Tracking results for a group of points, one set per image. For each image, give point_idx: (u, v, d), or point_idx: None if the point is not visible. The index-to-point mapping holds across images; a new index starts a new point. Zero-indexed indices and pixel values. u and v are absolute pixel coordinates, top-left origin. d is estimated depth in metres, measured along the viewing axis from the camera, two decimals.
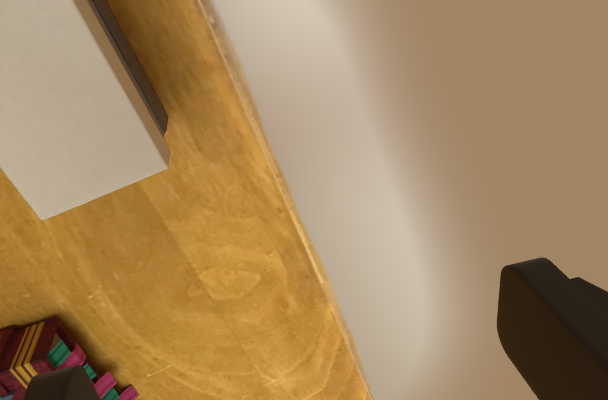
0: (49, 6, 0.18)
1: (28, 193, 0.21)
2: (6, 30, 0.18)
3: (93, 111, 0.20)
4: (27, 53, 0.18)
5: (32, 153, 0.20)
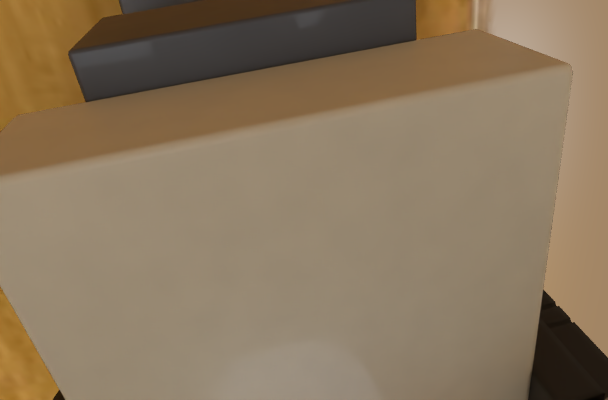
0: (482, 343, 0.07)
1: None
2: (353, 386, 0.07)
3: None
4: None
5: None
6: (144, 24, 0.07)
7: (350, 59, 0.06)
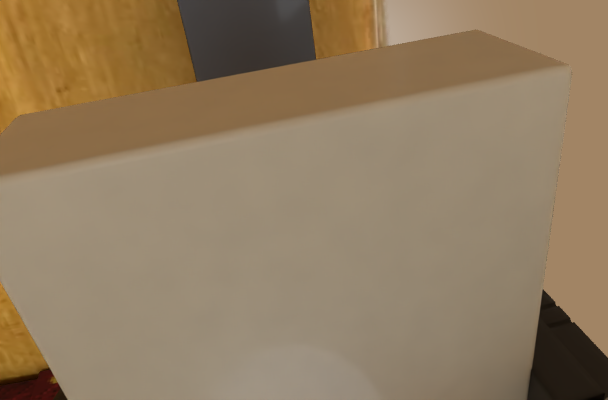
0: (482, 343, 0.07)
1: None
2: (353, 385, 0.07)
3: None
4: None
5: None
6: None
7: (351, 59, 0.06)
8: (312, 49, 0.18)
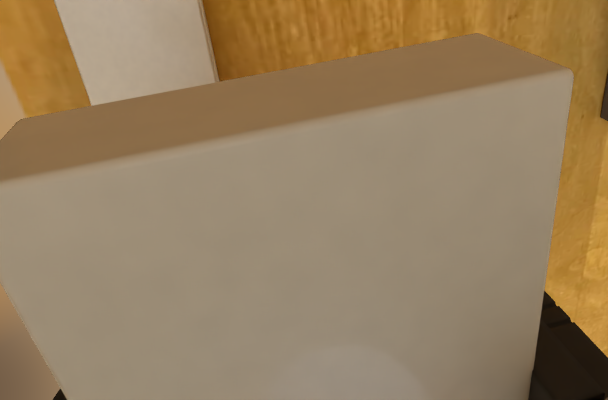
0: (483, 346, 0.07)
1: None
2: (354, 388, 0.07)
3: None
4: None
5: None
6: None
7: (353, 63, 0.06)
8: None
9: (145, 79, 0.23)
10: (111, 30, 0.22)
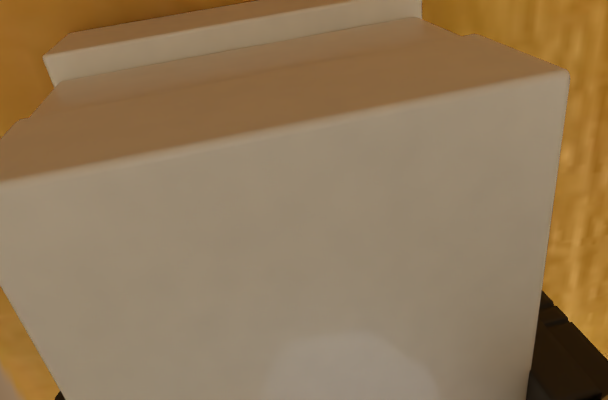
0: (480, 346, 0.07)
1: None
2: (352, 388, 0.07)
3: None
4: None
5: None
6: None
7: (350, 64, 0.06)
8: None
9: None
10: None
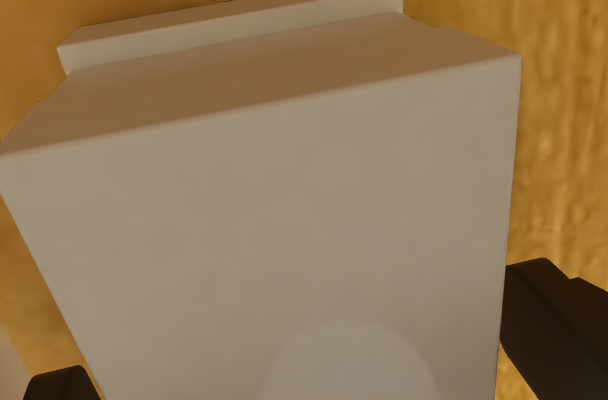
0: (452, 307, 0.07)
1: None
2: (337, 344, 0.07)
3: None
4: (354, 384, 0.08)
5: None
6: None
7: (333, 51, 0.07)
8: None
9: None
10: None
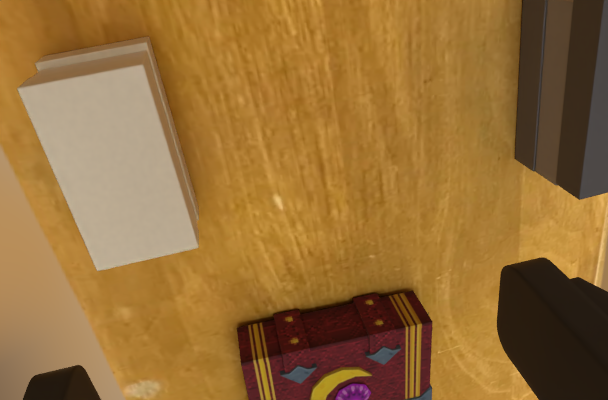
0: (147, 135, 0.26)
1: (94, 251, 0.28)
2: (114, 145, 0.26)
3: (157, 203, 0.28)
4: (123, 161, 0.26)
5: (106, 225, 0.28)
6: None
7: (108, 63, 0.25)
8: None
9: None
10: None
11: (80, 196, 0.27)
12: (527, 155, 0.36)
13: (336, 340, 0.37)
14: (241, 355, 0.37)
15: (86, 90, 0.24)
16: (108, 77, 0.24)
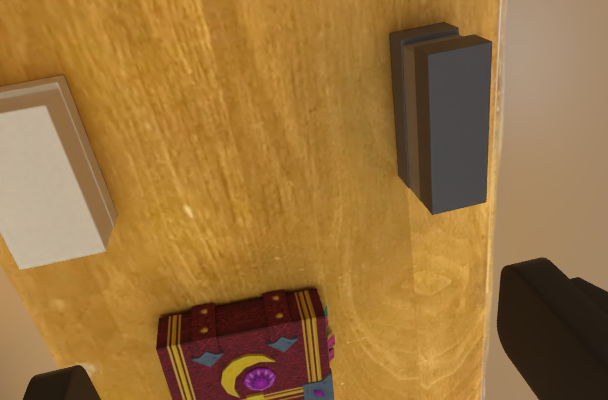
0: (54, 160, 0.32)
1: (16, 253, 0.34)
2: (26, 169, 0.32)
3: (67, 215, 0.34)
4: (35, 181, 0.32)
5: (24, 232, 0.34)
6: (434, 48, 0.32)
7: (21, 102, 0.31)
8: (489, 90, 0.33)
9: None
10: None
11: (1, 209, 0.33)
12: (404, 174, 0.42)
13: (240, 330, 0.43)
14: (157, 342, 0.43)
15: None
16: (17, 115, 0.30)
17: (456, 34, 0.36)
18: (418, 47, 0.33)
